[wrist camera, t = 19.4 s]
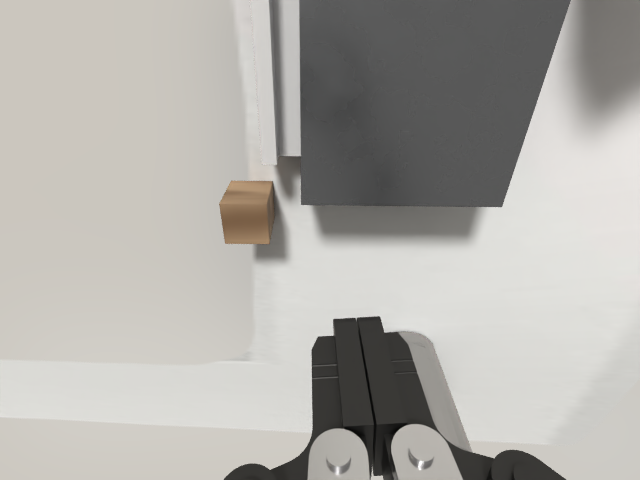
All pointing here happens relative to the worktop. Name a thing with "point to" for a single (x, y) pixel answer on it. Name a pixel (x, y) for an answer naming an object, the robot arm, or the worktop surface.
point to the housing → (419, 97)
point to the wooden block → (248, 212)
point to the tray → (277, 77)
